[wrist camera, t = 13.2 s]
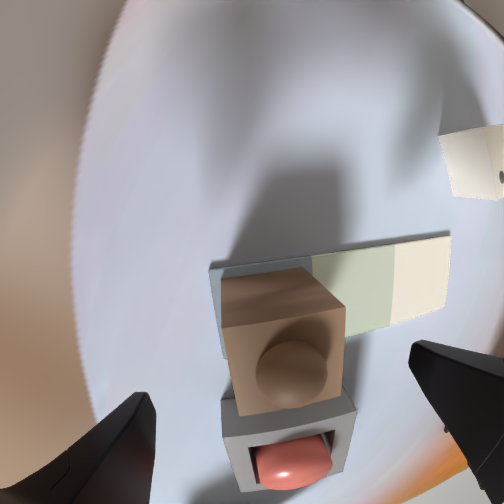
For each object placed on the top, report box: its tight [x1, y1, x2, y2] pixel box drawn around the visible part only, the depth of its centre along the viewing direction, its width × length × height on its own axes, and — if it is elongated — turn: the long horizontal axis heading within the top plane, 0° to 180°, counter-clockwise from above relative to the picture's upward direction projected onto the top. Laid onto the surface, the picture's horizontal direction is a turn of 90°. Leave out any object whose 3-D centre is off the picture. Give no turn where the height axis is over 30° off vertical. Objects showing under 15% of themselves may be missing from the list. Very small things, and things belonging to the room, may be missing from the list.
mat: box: [208, 236, 451, 359], centre depth 14 cm, size 15×5×1 cm, turn 96°
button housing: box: [221, 386, 357, 493], centre depth 14 cm, size 7×7×3 cm
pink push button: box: [254, 434, 333, 490], centre depth 14 cm, size 4×4×4 cm
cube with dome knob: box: [221, 267, 346, 417], centre depth 10 cm, size 4×4×6 cm
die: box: [438, 124, 504, 201], centre depth 12 cm, size 4×4×4 cm
